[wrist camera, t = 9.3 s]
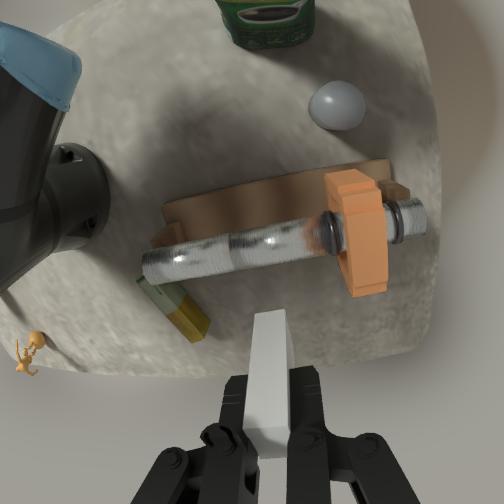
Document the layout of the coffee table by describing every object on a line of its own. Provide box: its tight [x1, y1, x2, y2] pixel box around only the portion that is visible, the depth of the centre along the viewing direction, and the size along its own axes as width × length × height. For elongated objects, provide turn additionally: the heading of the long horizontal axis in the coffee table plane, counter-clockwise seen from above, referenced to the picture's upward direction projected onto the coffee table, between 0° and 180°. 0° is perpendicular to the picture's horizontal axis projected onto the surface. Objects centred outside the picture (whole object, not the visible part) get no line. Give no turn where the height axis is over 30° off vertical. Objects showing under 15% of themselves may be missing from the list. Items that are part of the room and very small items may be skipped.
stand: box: [151, 158, 410, 249], centre depth 31 cm, size 27×9×7 cm, turn 104°
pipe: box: [142, 198, 427, 285], centre depth 26 cm, size 27×4×4 cm, turn 103°
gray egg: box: [309, 80, 366, 130], centre depth 25 cm, size 5×5×6 cm
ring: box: [324, 169, 388, 298], centre depth 25 cm, size 3×10×10 cm, turn 14°
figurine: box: [16, 331, 45, 376], centre depth 43 cm, size 8×6×12 cm
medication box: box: [136, 273, 210, 343], centre depth 38 cm, size 12×3×4 cm, turn 34°
